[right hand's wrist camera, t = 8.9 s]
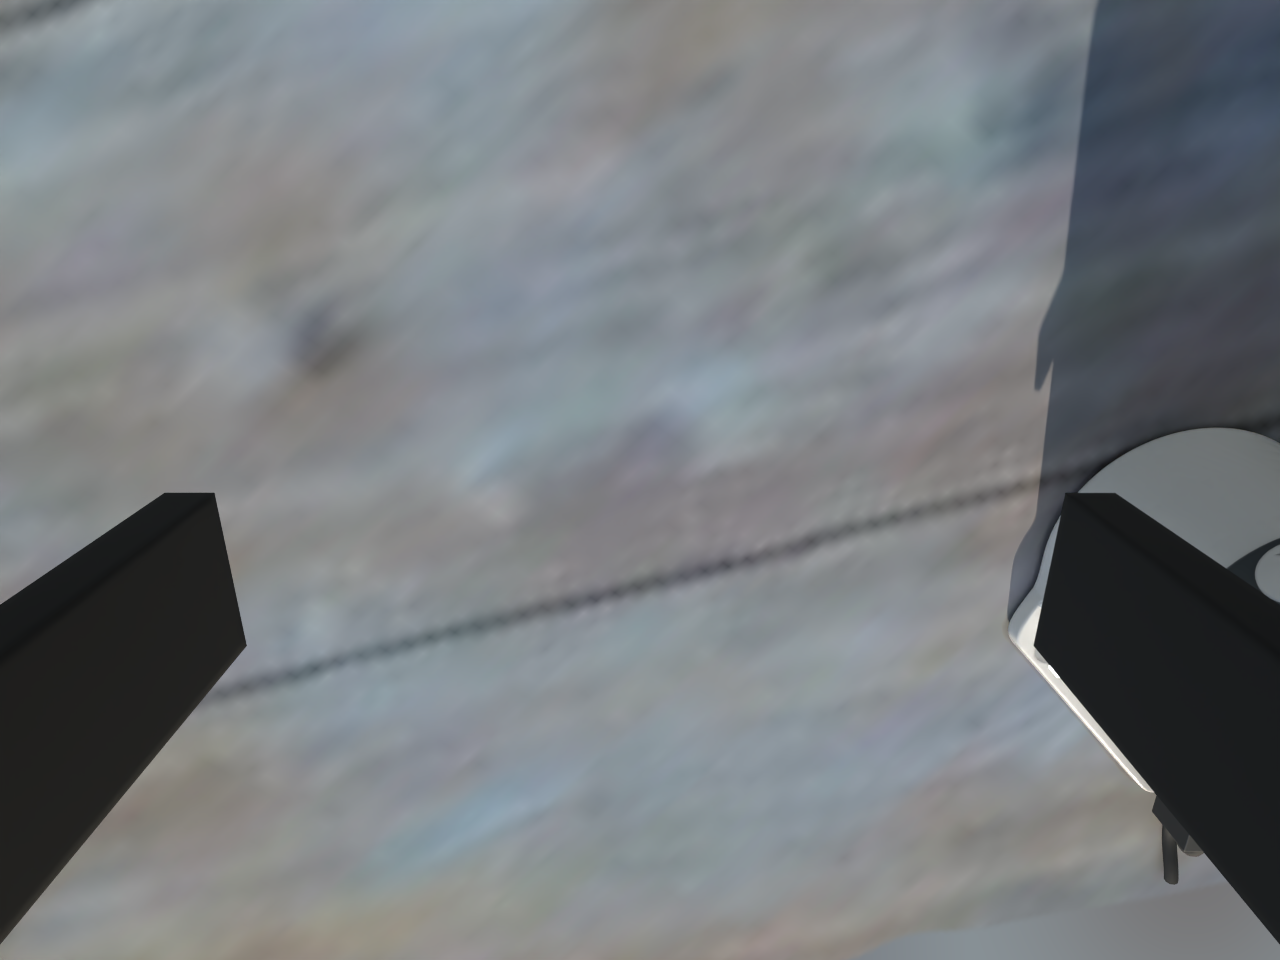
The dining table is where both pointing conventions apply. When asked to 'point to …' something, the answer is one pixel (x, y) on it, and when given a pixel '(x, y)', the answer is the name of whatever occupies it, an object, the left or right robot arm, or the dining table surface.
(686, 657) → the dining table surface
